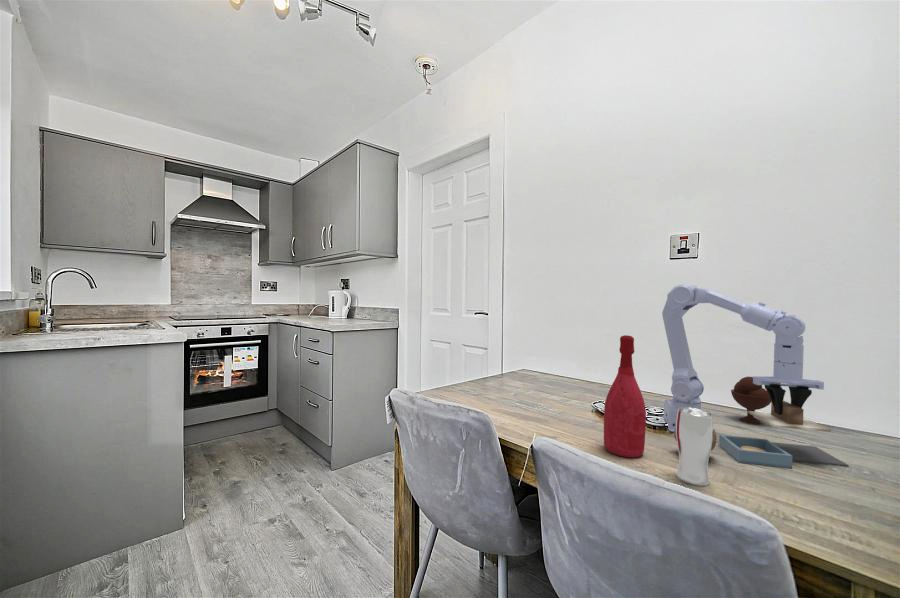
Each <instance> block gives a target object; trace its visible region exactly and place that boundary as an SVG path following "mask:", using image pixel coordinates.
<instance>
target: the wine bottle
mask: <svg viewBox="0 0 900 598" xmlns="http://www.w3.org/2000/svg"><path fill="white" fill-rule="evenodd" d="M619 341H620V343H619V345H620V346H619V350H618V351H619V353H620V362H619V367H618V369H617V374H616V377H615V378H614V381H613V382H612V384H611V386H610V388H609V390H608V392H607V394H606V398H605V401H604V407H603V408H604V409H603V446H604V448H605V450H607V451H608V452H609V453H611V454H614V455H616V456H618V457H624V458H639V457H641V456H642V455H643V454H644V452H645V443H646V425H647V411H646V410H647V409H646V403H645V400H644V396H643V394H642V391H641V389H640V386H639V384H638V381H637V379H636V377H635V372H634V367H633V356H632V355H633V354H634V353H635V338H634V337H633V336H632V335H627V334H626V335H621V336H620V338H619Z"/></svg>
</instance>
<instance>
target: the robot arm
mask: <svg viewBox="0 0 900 598" xmlns="http://www.w3.org/2000/svg"><path fill="white" fill-rule="evenodd" d="M699 304H711V305H714V306H717V307H719V308H722V309H725V310H727V311H730V312H732V313H733V312H734V313H736V314H738V315H739V316H740V318H741V319H742V321H743V322H745V323H748V324H750V325H753V326H755V327H758V328H761V329H763V330H765V331H768V332H771V331H773V334H775V340H774V349H773V372H772V373H773V374H772V375H773V376H757V375H754V376H752V377H753V383H754V384H756V385H762V386H764V389H765V390H766V391H767V392H768V394H769V396H770V398H771V400H772V403H773V407H774V411H775V413H777V414H779V415H782V412H783V401H784V400H785V399H784V398H785V395H786V392H787V391H786V390H785V389H784V388H783V387H788V390H789V394H790V395H789V396H790V404H793V405H795V406H797V407H800V408H802V409H803V406H804V405H805V403H806V401H808V398H809V397H810V396H811V395H812V394H813V392H812V389H817V390H825V388H824V387H825V382H824V381H822V380H814V379H805V378H804V377H803V373H804V349H805V346H804V344H803V343H804V338H803V337H804V336H803V334H804V333H805V331H806V324H805V322H804V321H803V320H802V319H801V318H799V317H798V316H796V315H794V314H793V315H792V314H791V315H788V314H787V311H784V310H781V311H779V310H778V309H777V310H776V309H775V308H771V307H770V306H769V307H768V306H766V303H765V302H761V301H759V302H755V301H752V302H749V303H743V301H742V302H741V301H739V300H737V299H734V298H732V297H729V296H727V295H724V294H721V293H719V292H716V291H715V290H711V289H709V288H703V287H698V286H696V285H687V284H678V285H675V286H674V287H673V288H671V290H670V291H669V292H668V293H667V294H666V302H665V304H664V307H663V310H662V313H661V314H662V320H663V324H664V330H665V334H666V335H665V336H666V338H667V344H668V348H669V354H670V357H671V363H672V366H673V367H672V368H673V372H672V375H671V382H672V383H671V387H670V392H671V395H672V398H665V400H664V402H663V420H664V422H665V423H667V424H668V428H667V430H668V431H669V432H671V433H672V432H673V433H674V432H675V430H676V420H677V413H678V408H682V407H689V408H697V409H702V400H701V398H700V397H701V395H703V393H704V391H705V387H704V384H703V382H702V381H701V380H700V378H699V375H698V373H697V371H696V370H695V369H694V366H693V362H692V356H691V352H690V347H689V343H688V339H687V335H686V329H685V326H684V320H683V317H684V316H685V314H686V313H687V312H688V311H689V310H690V309H692V308H694V307H695V306H697V305H699ZM786 314H787V315H786Z"/></svg>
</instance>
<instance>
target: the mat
mask: <svg viewBox="0 0 900 598" xmlns="http://www.w3.org/2000/svg"><path fill="white" fill-rule="evenodd" d="M771 442H772V443H773V444H775V445H776V446H778V447H779V448H781V449H782V450H784V451H786V452H787V453H789V454H790V455H792V462H802V463H810V462H812V463H811V464H819V463H823V464H822V465H828V464H831V465H830V466H837V465H840V466H839V467H846V468H849V467H850V465H849V464H847V463H846V462H844V461H842V460H840V459H838V458H836V457H835V456H833V455H832V454H830V453H828V452H826V451H824V450H822V449H821V448H818V447H817V446H812V445H804V444H803V445H802V444H794V443H784V442H782V443H781V442H776V441H775V442H773V441H771Z"/></svg>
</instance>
